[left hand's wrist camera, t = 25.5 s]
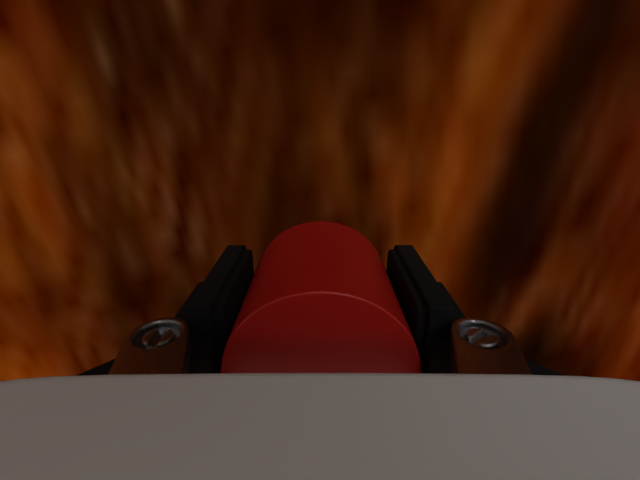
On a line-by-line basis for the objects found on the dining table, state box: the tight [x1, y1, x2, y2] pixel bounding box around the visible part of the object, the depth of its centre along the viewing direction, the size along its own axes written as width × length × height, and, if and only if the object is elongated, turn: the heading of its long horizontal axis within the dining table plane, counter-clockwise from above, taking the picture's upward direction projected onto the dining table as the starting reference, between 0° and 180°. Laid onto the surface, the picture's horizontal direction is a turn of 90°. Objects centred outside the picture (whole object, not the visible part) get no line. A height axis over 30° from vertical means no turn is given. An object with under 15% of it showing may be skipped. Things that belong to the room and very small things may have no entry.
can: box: [221, 221, 421, 373], centre depth 10 cm, size 4×4×5 cm
